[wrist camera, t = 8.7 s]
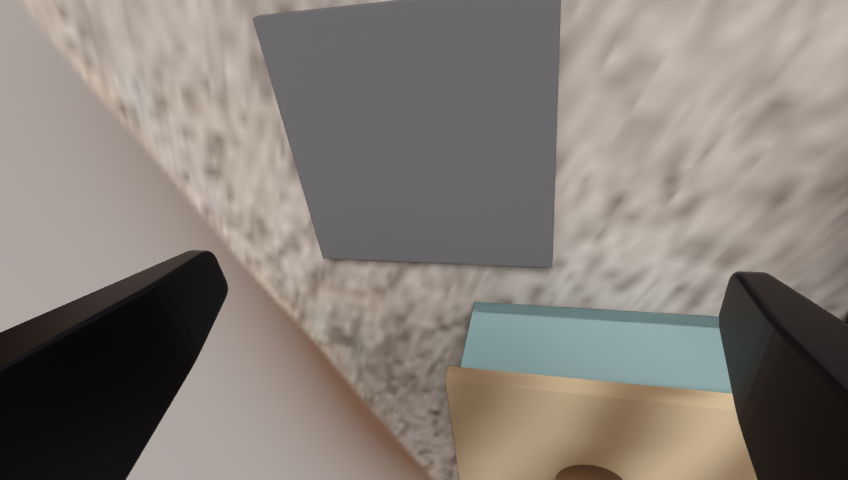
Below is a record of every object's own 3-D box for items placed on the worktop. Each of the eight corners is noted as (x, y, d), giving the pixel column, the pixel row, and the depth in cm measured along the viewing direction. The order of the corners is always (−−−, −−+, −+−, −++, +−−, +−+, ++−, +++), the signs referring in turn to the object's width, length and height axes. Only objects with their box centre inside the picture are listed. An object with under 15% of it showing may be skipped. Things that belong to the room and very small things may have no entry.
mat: (561, -18, 16) (561, -16, 16) (552, 259, 23) (552, 267, 22) (260, 15, 20) (252, 18, 19) (327, 251, 26) (323, 258, 26)
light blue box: (724, 317, 23) (759, 404, 19) (680, 461, 29) (699, 549, 25) (474, 302, 26) (459, 374, 22) (485, 435, 32) (475, 509, 28)
